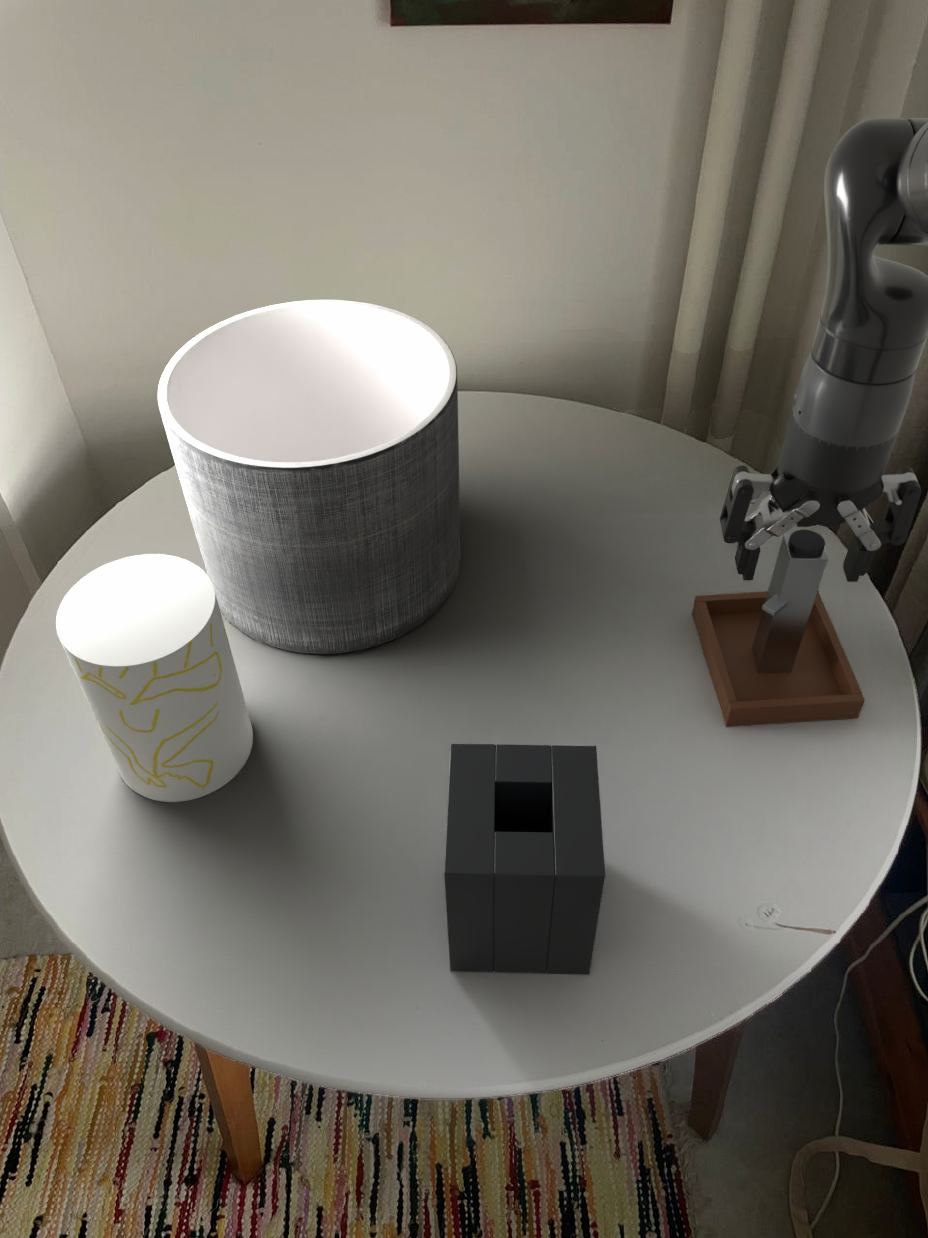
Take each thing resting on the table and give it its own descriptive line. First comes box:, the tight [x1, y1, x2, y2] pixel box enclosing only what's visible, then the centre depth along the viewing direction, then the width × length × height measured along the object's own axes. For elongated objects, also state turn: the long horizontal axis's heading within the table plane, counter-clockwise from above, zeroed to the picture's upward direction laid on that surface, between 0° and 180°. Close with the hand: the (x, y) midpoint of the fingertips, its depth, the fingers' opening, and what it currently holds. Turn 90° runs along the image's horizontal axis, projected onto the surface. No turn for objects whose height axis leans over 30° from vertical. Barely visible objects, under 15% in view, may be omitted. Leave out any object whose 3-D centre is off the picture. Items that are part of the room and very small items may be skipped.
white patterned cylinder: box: [55, 553, 254, 803], centre depth 82 cm, size 12×12×17 cm
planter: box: [157, 299, 462, 655], centre depth 96 cm, size 25×25×22 cm
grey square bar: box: [752, 529, 829, 673], centre depth 88 cm, size 6×6×15 cm
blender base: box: [443, 743, 606, 976], centre depth 72 cm, size 10×10×14 cm
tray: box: [691, 590, 866, 728], centre depth 93 cm, size 14×12×2 cm
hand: (797, 574), depth 85 cm, fingers open, 8 cm apart
